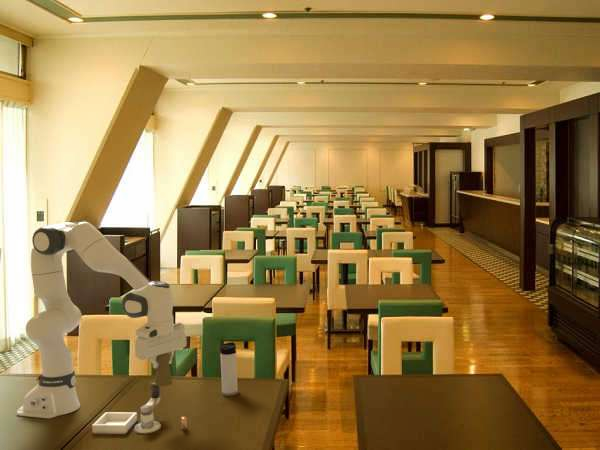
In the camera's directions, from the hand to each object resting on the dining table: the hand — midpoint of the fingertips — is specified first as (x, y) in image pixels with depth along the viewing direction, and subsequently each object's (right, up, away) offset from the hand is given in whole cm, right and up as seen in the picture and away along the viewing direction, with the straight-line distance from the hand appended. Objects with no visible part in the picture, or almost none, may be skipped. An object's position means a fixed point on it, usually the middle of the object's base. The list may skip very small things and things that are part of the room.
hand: (162, 365), depth 225 cm
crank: (-4, -15, +1) cm, 16 cm away
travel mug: (+21, -18, +29) cm, 40 cm away
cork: (0, -7, 0) cm, 7 cm away
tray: (-16, -21, -1) cm, 27 cm away
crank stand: (0, -21, -4) cm, 21 cm away
